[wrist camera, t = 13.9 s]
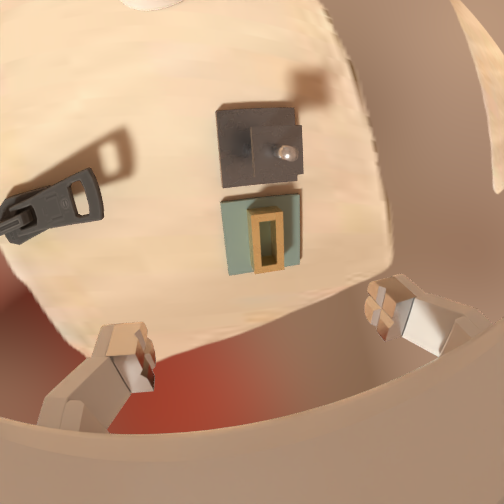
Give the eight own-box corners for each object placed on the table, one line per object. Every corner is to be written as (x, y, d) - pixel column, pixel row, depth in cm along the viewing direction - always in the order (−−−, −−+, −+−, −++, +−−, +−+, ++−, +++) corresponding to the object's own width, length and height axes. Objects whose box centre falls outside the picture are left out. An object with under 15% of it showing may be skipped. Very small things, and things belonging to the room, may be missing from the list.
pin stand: (215, 111, 38) (227, 98, 23) (290, 108, 40) (341, 99, 25) (222, 186, 43) (237, 216, 28) (294, 179, 45) (342, 204, 30)
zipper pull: (107, 222, 35) (-3, 258, 32) (118, 210, 41) (14, 244, 38) (91, 162, 31) (-19, 212, 28) (105, 157, 37) (0, 201, 34)
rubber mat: (220, 201, 44) (221, 203, 43) (297, 193, 46) (299, 194, 45) (228, 272, 50) (229, 275, 49) (297, 261, 52) (299, 264, 51)
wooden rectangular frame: (246, 209, 44) (250, 215, 41) (276, 205, 45) (283, 211, 42) (250, 264, 49) (255, 274, 46) (278, 260, 49) (284, 269, 46)
